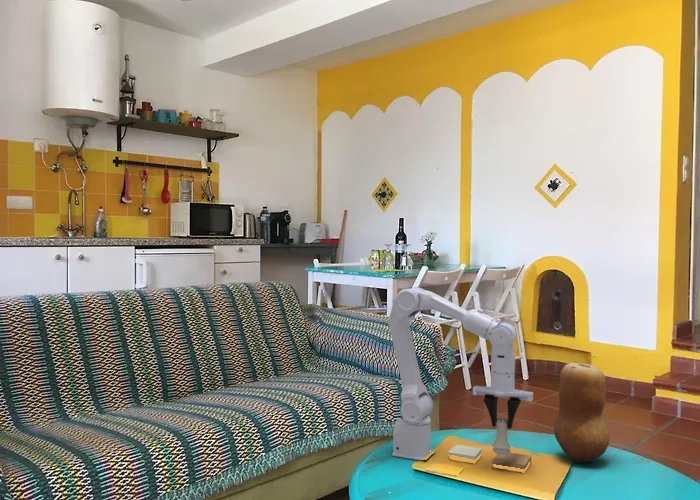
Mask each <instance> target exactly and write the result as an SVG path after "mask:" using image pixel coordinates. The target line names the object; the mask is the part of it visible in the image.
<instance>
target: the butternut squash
mask: <svg viewBox="0 0 700 500" xmlns="http://www.w3.org/2000/svg"><path fill="white" fill-rule="evenodd" d="M559 377H560V379H559V386H558V399H559V400H558V403H559V404H558V413H557V415H556V418H555V421H554V425H553V433H554V437H555V438H554V439H555V440H556V442H557V443H558V445H559V447H560V448H561V450H562V451H563V452H564V454H565V455H567V456H568V457H569V459H571V460H572V461H573V462H575V463H578V464H584V463H590V462H593V461H595V460H597V459H599V458H600V457H601V456H603V455H604V454H605V452H606V451H607V449H608V448H609V444H610V432H609V429H608V426H607V423H606V420H605V419H604V414H603V413H604V412H603V411H604V406H605V404H606V403H605V402H606V397H607V396H606V395H607V394H606V393H607V391H606V390H607V386H606V385H607V384H606V381H607V379H606V375H605V374H604V372H603V371H602V370H601V369H600V368H599V367H597V366H595V365H593V364H589V363H580V362H579V363H578V362H577V363H576V362H569V363H566V364H565V365H564V367H563V368H562V370H561V371H560V373H559Z"/></svg>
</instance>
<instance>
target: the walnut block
mask: <svg viewBox="0 0 700 500" xmlns="http://www.w3.org/2000/svg"><path fill="white" fill-rule="evenodd" d="M530 460H531V461H532V455H529V454H522V453H517V452H510V453H509V454H497V453H496V455H495V456H494V457H493V459H492V463H491V465H492V464H496V465H502V466H508V467H515V468H520V469H525V468H526V467H527V465H528V463H529V461H530Z"/></svg>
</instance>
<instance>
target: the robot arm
mask: <svg viewBox="0 0 700 500" xmlns="http://www.w3.org/2000/svg"><path fill="white" fill-rule="evenodd" d="M427 310H428V311H429V310H431V311H432V310H434V311H437V312H438V313H440V314H443V315H445V316H447V317H450V318H452V319H454V320H456V321H459V322H460V323H462V327H463V328H464V330H466V331H468V332H470V333H472V334H474V335H475V336H478V337H480V338H482V339H483V340H486V341H488V340H489V342H490V344H491V353H490V355H491V356H490V359H491V360H490V386H484V385H483V386H482V385H481V386H480V385H474V386H473V387H472V395H473V396H478V395H479V396H484V398H483V402H484V404H485V406H486V408H487V411H488V413H489V417H490V421H491V426H492V427H494V428H495V427H497V425H496V421H497V419H498V413H497V412H498V411H497V410H498V399H499V398H503V399H507V401H506V403H507V404H506V405H507V422H508V426H507V430H510V429H512V428H513V424H514V419H515V416H516V413H517V410H518V408H519V406H520V404H521V401H527V402H531V403H532V402H533V400H534V392H533V391H527V390H520V389H516V388H515V383H516V382H515V373H516V371H515V370H516V368H515V367H516V364H515V362H516V359H515V358H516V353H515V341H516V339H517V336H518V335H517V331H516V328H515V327H514V326H513V325H512V324H511V323H509V322H506V321H503V322H501V318H498V317H497V318H494V317H492V316H490V315H488V314H487V313H486V314H485V313H484V310H483V309H481V308H478V309H475V308H472V309H470V310H468V309H464V308H463V307H461V306H459V305H458V304H455V303H454V302H452V301H450V300H448V299H446V298H444V297H442V296H441V295H439V294H436V293H435V292H433V291H430V290H425V289H424V288H422V287H419V286H416V287H412V288H403V289H401V290H400V291H399V292H398V293H397V294H396V295H395V296H394V298H393V299H392V306H391V311H390V314H389V317H388V327H389V330H390V335H391V340H392V345H393V349H394V350H393V351H394V355H395V358H396V363H397V367H398V372H399V377H400V380H401V385H402V389H401V393H400V400H401V401H400V402H401V404H400V405H401V406H400V409H399V410H400V415H401V417H402V418H398V419H397V420H396V421H395V423H394V425H393V438H392V441H393V442H392V447H393V448H392V454H391V456H392V457H399V458H404V459H409V460H410V459H411V460H416V461H421V459H423V458H424V457H426V456H427V455H428V454H430V452H431V451H432V450H431V434H432V433H431V432H432V431H431V428H432V427H431V426H432V425H431V423H432V420H431V417H430V414H431V413H432V412H433V409H434V401H433V399H432V397H431V396H430V395H429V392H428V389H427V387H426V386H425V384H424V382H423V380H422V376H421V371H420V366H419V363H418V359H417V354H416V350H415V346H414V340H413V337H412V332H411V327H410V323H411V322H412V321H413V320H414V318H415V317H416V315H417V314H418V313H420V312H421V311H427Z"/></svg>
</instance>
